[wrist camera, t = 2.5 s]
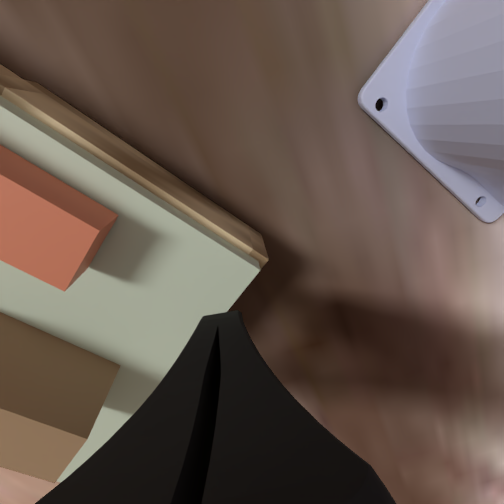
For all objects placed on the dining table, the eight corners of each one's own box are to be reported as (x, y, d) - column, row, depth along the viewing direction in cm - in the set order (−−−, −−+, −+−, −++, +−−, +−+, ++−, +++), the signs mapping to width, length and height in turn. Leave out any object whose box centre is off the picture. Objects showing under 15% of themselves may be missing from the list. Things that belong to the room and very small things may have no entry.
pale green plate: (258, 261, 12) (271, 321, 8) (90, 473, 16) (49, 574, 13) (-17, 84, 9) (-186, 56, 5) (-134, 400, 13) (-273, 506, 10)
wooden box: (261, 234, 15) (268, 259, 12) (112, 426, 19) (93, 477, 16) (36, 82, 12) (-23, 69, 9) (-79, 354, 16) (-143, 402, 13)
